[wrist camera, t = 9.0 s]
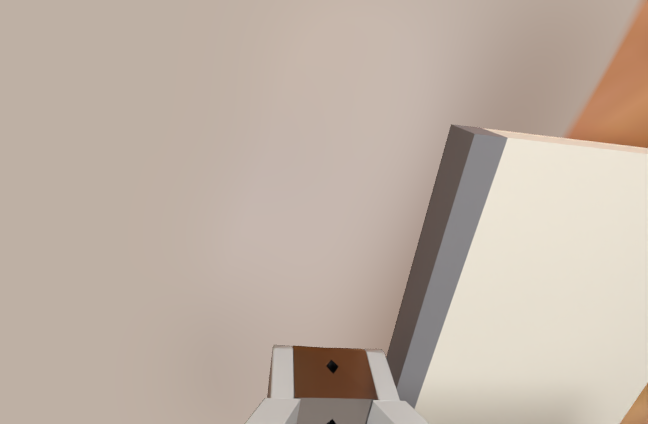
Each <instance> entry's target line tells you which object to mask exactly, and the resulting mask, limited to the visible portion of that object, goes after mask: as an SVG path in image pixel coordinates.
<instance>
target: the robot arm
mask: <svg viewBox="0 0 648 424" xmlns="http://www.w3.org/2000/svg"><path fill="white" fill-rule="evenodd" d="M245 424H429V423H428V422H427V421H426V420H425V419H424V418H423V417H422V416H421V415H420V414H419V413H418V412H417V411H416V410H415V409H413V408H412V407H411V406H410V405H409V404H408V403H407V402H406V401H400V399H399V396H398V393H397V390H396V387H395V384H394V381H393V377H392V374H391V371H390V368H389V365H388V362H387V359H386V356H385V353H384V351H382V349H350V348H320V347H305V346H293V347H292V346H283V345H274V346H273V351H272V360H271V368H270V377H269V386H268V396H267V398H265V399H264V400H263V401H262V403H261V404H260V405H259V406H258V407H257V409H256V410H255V411H254V413H253V414H252V415H251V416H250V418H249V419H248V420H247V422H246V423H245Z"/></svg>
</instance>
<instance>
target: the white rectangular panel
mask: <svg viewBox="0 0 648 424" xmlns="http://www.w3.org/2000/svg"><path fill="white" fill-rule="evenodd" d="M386 359H387V362H388V365H389V368H390V371H391V374H392V377H393V381H394V384H395V387H396V390H397V393H398V396H399V399H400V401H406V402H407V403H408V404H409V405H410V406H411V407H412V408H413V409H415V410H416V411H417V412H418V413H419V414H420V415H421V416H422V417H423V418H424V419H425V420H426V421H427V422H428V423H429V424H620V422H621V421H622V419H623V418H624V416H625V415H626V413H627V412H628V411H629V409H630V408H631V406H632V405H633V403H634V402H635V400H636V399H637V397H638V396H639V394H640V393H641V391H642V390H643V389H644V387H645V386H646V384H647V383H648V148H642V147H634V146H625V145H617V144H609V143H601V142H592V141H584V140H576V139H568V138H559V137H551V136H543V135H535V134H526V133H518V132H509V131H502V130H493V129H485V128H477V127H468V126H460V125H451V127H450V131H449V134H448V138H447V141H446V145H445V149H444V153H443V156H442V159H441V163H440V167H439V170H438V174H437V177H436V181H435V185H434V188H433V192H432V195H431V199H430V203H429V206H428V210H427V213H426V217H425V221H424V224H423V228H422V232H421V235H420V239H419V242H418V246H417V250H416V253H415V257H414V260H413V264H412V267H411V271H410V275H409V278H408V282H407V286H406V289H405V293H404V296H403V300H402V304H401V307H400V311H399V314H398V318H397V321H396V325H395V329H394V332H393V336H392V339H391V343H390V347H389V350H388V354H387V358H386Z"/></svg>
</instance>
